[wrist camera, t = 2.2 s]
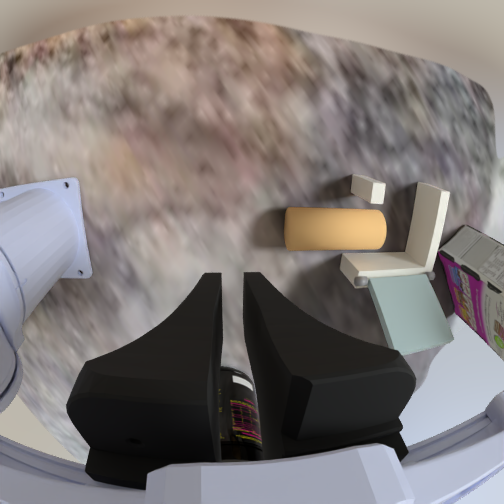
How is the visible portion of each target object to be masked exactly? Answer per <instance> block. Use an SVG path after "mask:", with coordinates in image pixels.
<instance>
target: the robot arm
mask: <svg viewBox="0 0 504 504" xmlns="http://www.w3.org/2000/svg"><path fill="white" fill-rule="evenodd" d="M66 182H67V183H68V184H69V187H68V188H67V187H66V185H65V184H66ZM3 193H4V196H3ZM79 270H81V271H82V272H83V274H82V273H80V271H79ZM91 275H92V267H91V262H90V257H89V251H88V246H87V240H86V234H85V228H84V221H83V214H82V206H81V197H80V187H79V181H78V179H77V178H75V177H70V178H63V179H55V180H48V181H42V182H35V183H29V184H23V185H17V186H12V187H7V188H1V189H0V413H2V412H3V411H4V410H5V409H6V408H7V407H8V406H9V405H10V403H11V402H12V401H13V399H14V398H15V396H16V394H17V392H18V390H19V388H20V385H21V382H22V378H23V366H22V362H21V359H20V358H19V356H18V354H17V353H16V352H17V350H18V349H19V347H20V346H21V344H22V343H23V341H24V336H23V333H22V325H23V323H24V322H25V321H26V319H27V318H28V317H29V315H30V314H31V313H32V312H33V310H34V309H35V308H36V306H37V305H38V304H39V303H40V301H41V300H42V299H43V298H44V296H45V295H46V294H47V293H48V291H49V290H50V289H51V288H52V287H53V285H54V284H55V283H56V282H57V281H58V279H59V278H90V277H91ZM243 325H244V337H245V343H246V347H247V352H248V356H249V361H250V365H251V370H252V374H253V379H254V383H255V388H256V394H257V403H258V412H259V421H260V431H261V440H262V450H263V460H264V461H251V462H227V463H222V462H221V444H220V422H219V378H220V366H221V355H222V344H223V321H222V278H221V273H204V274H203V275H202V277H201V279H200V280H199V282H198V283H197V285H196V286H195V287H194V289H193V290H192V291H191V293H190V294H189V295H188V296H187V298H186V299H185V300H184V301H183V302H182V303H181V304H180V305H179V306H178V308H177V309H176V310H175V311H174V312H173V313H172V314H171V315H170V316H169V317H167V318H166V319H165V320H164V321H163V322H162V323H160V324H159V325H158V326H156V327H155V328H153V329H152V330H150V331H149V332H147V333H146V334H144V335H143V336H141V337H140V338H138V339H136V340H135V341H133V342H131V343H129V344H127V345H125V346H123V347H121V348H119V349H117V350H115V351H113V352H110V353H108V354H105V355H103V356H100V357H97V358H95V359H92V360H89V361H86V362H85V364H84V366H83V368H82V370H81V371H80V373H79V375H78V377H77V380H76V382H75V384H74V387H73V389H72V392H71V394H70V397H69V399H68V402H67V404H66V408H67V414H68V416H69V418H70V419H71V421H72V423H73V425H74V426H75V427H76V429H77V430H78V431H79V433H80V434H81V436H82V437H83V438H84V440H85V441H86V442H87V444H88V445H89V446H90V451H89V455H88V459H87V463H86V465H84V464H79V463H76V462H72V461H69V460H65V459H62V458H59V457H56V456H52V455H49V454H46V453H43V452H40V451H38V450H35V449H32V448H30V447H27V446H24V445H22V444H20V443H17V442H15V441H12V440H10V439H8V438H6V437H3V436H1V435H0V504H453V503H454V502H456V501H458V500H459V499H461V498H463V497H464V496H466V495H467V494H469V493H470V492H471V491H473V490H475V489H476V488H477V487H479V486H480V485H482V484H483V483H485V482H486V481H487V480H489V479H490V478H491V477H493V476H494V475H495V474H497V473H498V472H499V471H500V470H502V469H503V468H504V391H502V392H501V393H499V394H498V395H497V396H496V397H494V398H493V400H492V401H491V402H490V403H489V405H488V406H487V407H486V409H485V411H484V412H482V413H480V414H478V415H477V416H475V417H473V418H471V419H469V420H467V421H465V422H463V423H461V424H459V425H457V426H455V427H453V428H451V429H449V430H447V431H445V432H442V433H440V434H438V435H436V436H433V437H431V438H429V439H426V440H424V441H421V442H419V443H416V444H413V445H411V446H408V447H406V445H405V443H404V441H403V439H402V437H401V435H400V433H399V432H400V431H401V430H402V429H403V425H402V423H401V421H400V419H399V416H400V414H401V412H402V411H403V409H404V408H405V406H406V404H407V403H408V401H409V400H410V398H411V396H412V394H413V392H414V389H415V387H416V377H415V375H414V373H413V371H412V370H411V368H410V367H409V365H408V364H407V362H406V361H405V359H404V358H403V356H402V355H401V353H400V352H399V351H398V350H394V349H390V348H386V347H382V346H378V345H374V344H371V343H367V342H364V341H362V340H359V339H356V338H353V337H351V336H348V335H346V334H343V333H341V332H339V331H337V330H335V329H333V328H331V327H329V326H326V325H325V324H323V323H321V322H319V321H318V320H316V319H314V318H313V317H311V316H310V315H308V314H306V313H305V312H303V311H302V310H301V309H299V308H298V307H297V306H295V305H294V304H293V303H292V302H290V301H289V300H288V299H287V298H286V297H284V296H283V295H282V294H281V293H280V292H279V291H278V290H277V289H276V288H275V287H274V286H273V285H272V284H271V283H270V282H269V281H268V280H267V279H266V278H265V277H264V276H263V275H262V274H261V273H260V272H244V285H243Z"/></svg>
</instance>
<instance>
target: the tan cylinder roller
mask: <svg viewBox="0 0 504 504" xmlns="http://www.w3.org/2000/svg"><path fill="white" fill-rule="evenodd" d="M385 238H386V221H385V218H384V216H383V214H382V213H381V212H380V211H379V210H367V209H343V208H310V207H288V208H287V210H286V213H285V223H284V239H285V244H286V247H287V249H288V250H289V251H302V250H358V249H379V248H381V247H382V245H383V244H384V241H385Z"/></svg>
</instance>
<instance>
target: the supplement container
mask: <svg viewBox="0 0 504 504" xmlns="http://www.w3.org/2000/svg"><path fill="white" fill-rule="evenodd" d="M219 422H220V444H221V462H222V463H227V462H251V461H264V460H263V450H262V440H261V431H260V421H259V412H258V405H257V399H256V394H255V388H254V384H253V382H252V380H251V379H250V378H249V377H248V376H247V375H246V374H245V373H243V372H241V371H239V370H236V369H233V368H228V367H220V378H219Z"/></svg>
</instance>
